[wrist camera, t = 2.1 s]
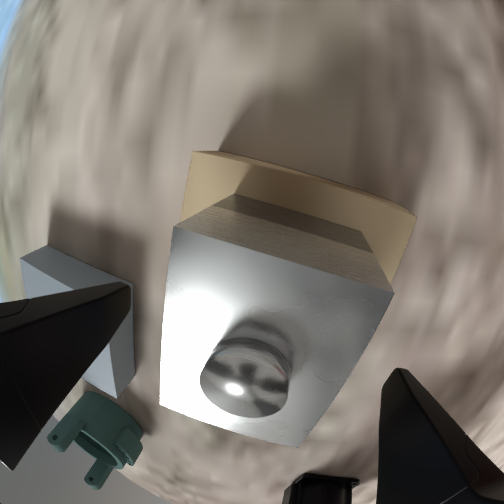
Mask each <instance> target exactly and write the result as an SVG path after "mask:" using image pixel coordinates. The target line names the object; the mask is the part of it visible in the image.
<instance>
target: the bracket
mask: <svg viewBox="0 0 504 504" xmlns="http://www.w3.org/2000/svg"><path fill="white" fill-rule="evenodd" d="M141 438H142V430H141V428H140V427H139V425H138V424H137V422H136V421H135V420H134V419H133V418H132V417H131V416H130V415H129V414H128V413H127V412H126V411H125V410H123V409H122V408H121V407H120V406H118V405H117V404H116V403H114V402H113V401H111V400H109V399H108V398H106V397H104V396H101V395H99V394H97V393H95V392H85V393H84V394H83V396H82V397H81V398H80V399H79V400H78V401H77V402H76V404H75V405H74V406H73V407H72V408H71V409H70V411H69V412H68V413H67V414H66V415H65V416H64V417H63V418H62V420H61V421H60V422H59V423H58V424H57V426H56V427H55V428H54V429H53V430H52V431H51V433H50V434H49V435H48V436H47V439H48V441H49V443H50V444H51V445H52V446H53V447H54V449H55V450H57V451H59V452H64V451H65V450H66V449H67V448H68V447H69V445H70V444H71V443H72V441H73V442H74V443H76V445H78V446H79V447H80V448H81V449H82V450H84V451H85V452H86V453H87V454H89V455H90V456H91V457H93V458H95V459H96V461H95V463H94V464H93V466H92V467H91V469H90V470H89V472H88V473H87V475H86V476H85V478H84V480H85V482H86V483H87V484H88V485H89V486H90V487H92V488H93V489H95V490H99V489H100V488H101V487H102V486H103V484H104V482H105V481H106V479H107V478H108V476H109V474H110V473H111V471H112V470H113V468H115V469H122V468H123V467H124V465H125V464H126V463H128V464H129V465H130V466H133V465H134V463H135V462H136V460H137V458H138V456H139V455H140V453H141V451H142V449H143V447H142V444H141V442H140V439H141Z"/></svg>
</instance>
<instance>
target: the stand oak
mask: <svg viewBox="0 0 504 504" xmlns="http://www.w3.org/2000/svg"><path fill="white" fill-rule="evenodd" d="M232 194H238V195H242V196H245V197H249V198H253V199H256V200H260V201H264V202H267V203H271V204H274V205H278V206H281V207H285V208H288V209H292V210H295V211H298V212H302V213H305V214H308V215H312V216H315V217H318V218H321V219H325V220H328V221H331V222H334V223H337V224H340V225H344V226H347V227H350V228H353V229H356V230H359V231H361V232H362V234H363V235H364V237H365V239H366V240H367V242H368V244H369V246H370V248H371V249H372V251H373V253H374V255H375V257H376V258H377V260H378V262H379V264H380V266H381V268H382V270H383V271H384V273H385V275H386V277H387V279H388V281H389V283H390V284H391V282H392V280H393V277H394V275H395V273H396V270H397V268H398V266H399V263H400V261H401V258H402V256H403V254H404V251H405V249H406V246H407V243H408V241H409V238H410V236H411V233H412V230H413V227H414V225H415V222H416V219H417V217H416V216H415V215H413V214H412V213H410V212H409V211H407V210H406V209H404V208H403V207H401V206H400V205H398V204H397V203H394V202H391V201H389V200H386V199H383V198H381V197H378V196H375V195H372V194H369V193H367V192H364V191H361V190H358V189H355V188H352V187H349V186H346V185H343V184H340V183H337V182H334V181H330V180H327V179H324V178H321V177H317V176H314V175H311V174H307V173H304V172H300V171H297V170H293V169H290V168H286V167H282V166H279V165H275V164H271V163H267V162H263V161H259V160H255V159H251V158H247V157H243V156H238V155H234V154H230V153H225V152H220V151H193V152H192V157H191V162H190V167H189V173H188V178H187V183H186V189H185V195H184V200H183V206H182V213H181V219H180V222H182V221H184V220H186V219H187V218H189V217H191V216H193V215H195V214H196V213H198V212H200V211H202V210H204V209H206V208H208V207H209V206H211V205H213V204H215V203H217V202H219V201H221V200H223V199H224V198H226V197H228V196H230V195H232Z"/></svg>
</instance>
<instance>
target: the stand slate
mask: <svg viewBox="0 0 504 504" xmlns="http://www.w3.org/2000/svg"><path fill="white" fill-rule="evenodd" d="M20 263H21V270H22V276H23V282H24V288H25V293H26V298H27V299H28V298H29V299H31V298H34V297H39V296H44V295H50V294H55V293H60V292H66V291H71V290H76V289H81V288H87V287H92V286H97V285H102V284H108V283H113V282H118V281H121V282H123V283H126V284H128V285H130V287H131V308H130V311H129V313H128V315H127V316H126V318H125V319H124V321H123V322H122V324H121V325H120V327H119V328H118V330H117V331H116V333H115V334H114V336H113V337H112V339H111V340H110V342H109V343H108V345H107V346H106V347H105V348H104V350H103V351H102V352H101V353H100V354H99V356H98V357H97V358H96V359H95V361H94V362H93V363H92V364H91V366H90V367H89V368H88V369H87V371H86V372H85V373H84V374H83V376H82V377H81V378H82V379H84V380H86V381H87V382H89V383H90V384H92V385H94V386H95V387H97V388H99V389H101V390H102V391H104V392H106V393H107V394H109V395H111V396H113V397H115V398H118V397H119V396H120V394H121V393H122V392H123V391H124V389H125V388H126V387H127V385H128V384H129V383H130V381H131V380H132V379H133V378H134V376H135V365H134V342H133V285H134V284H132V283H130V282H127V281H125V280H123V279H120V278H118V277H115V276H113V275H111V274H108V273H106V272H104V271H102V270H99V269H97V268H95V267H93V266H90V265H88V264H86V263H84V262H82V261H79V260H77V259H75V258H73V257H71V256H69V255H67V254H64V253H62V252H60V251H58V250H56V249H54V248H52V247H50V246H48V245H46V246H44V247H42V248H40V249H38V250H35V251H33V252H31V253H29V254H27V255H25V256H23V257H21V258H20Z"/></svg>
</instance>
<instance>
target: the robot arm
mask: <svg viewBox="0 0 504 504" xmlns="http://www.w3.org/2000/svg"><path fill="white" fill-rule="evenodd" d="M130 308H131V287H130V285H128V284H126V283H123V282H121V281H118V282H113V283H108V284H102V285H97V286H92V287H87V288H81V289H76V290H71V291H66V292H60V293H55V294H50V295H44V296H39V297H34V298H31V299H29V298H28V299H23V300H17V301H11V302H4V303H0V461H1V462H2V463H3V464H4V465H5V466H6V467H8V468H9V469H10V470H11V471H13V470H14V469H15V467H16V466H17V465H18V463H19V461H20V460H21V458H22V457H23V456H24V454H25V453H26V451H27V450H28V448H29V447H30V445H31V444H32V443H33V441H34V440H35V438H36V437H37V436H38V434H39V432H40V431H41V429H42V428H43V427H44V426H45V424H46V423H47V421H48V420H49V419H50V417H51V416H52V415H53V413H54V412H55V411H56V409H57V408H58V407H59V405H60V404H61V403H62V401H63V400H64V399H65V397H66V396H67V395H68V394H69V392H70V391H71V390H72V388H73V387H74V386H75V385H76V383H77V382H78V381H79V379H80V378H81V377H82V376H83V374H84V373H85V372H86V371H87V369H88V368H89V367H90V366H91V364H92V363H93V362H94V361H95V359H96V358H97V357H98V356H99V354H100V353H101V352H102V351H103V350H104V348H105V347H106V346H107V345H108V343H109V342H110V340H111V339H112V337H113V336H114V334H115V333H116V331H117V330H118V328H119V327H120V325H121V324H122V322H123V321H124V319H125V318H126V316H127V315H128V313H129V311H130ZM359 484H360V480H358V479H346V478H335V477H326V476H318V475H311V474H304V475H302V476H301V477H300V478H299V479H298V480H297V481H296V482H294V483H293V484H291V485H290V486H289V487H288V488H287V489H286V490H285V491H284V497H283V502H282V504H352V489H353V488H354V487H356V486H357V485H359ZM0 504H1V503H0ZM376 504H504V473H503V472H502V471H501V470H500V469H499V468H498V467H497V466H496V465H495V464H494V463H493V462H492V461H491V460H490V459H489V458H488V457H487V456H486V455H485V454H484V453H483V452H482V451H481V450H480V449H479V448H478V447H477V446H476V444H475V443H474V442H473V441H472V440H471V439H470V438H469V436H468V435H466V433H465V432H464V431H463V430H462V429H461V428H460V426H459V425H458V424H457V423H456V422H455V421H454V420H453V419H452V417H451V416H450V415H449V414H448V413H447V412H446V411H445V410H444V409H443V407H442V406H441V405H440V404H439V403H438V402H437V401H436V400H435V399H434V398H433V397H432V395H431V394H430V393H429V392H428V391H427V390H426V389H425V388H424V387H423V386H422V385H421V384H420V382H419V381H418V380H417V379H416V378H415V377H414V376H413V375H412V374H411V373H410V372H409V371H408V370H407V369H403V368H396V369H394V370H393V372H392V373H391V375H390V376H389V378H388V379H387V380H386V382H385V383H384V385H383V387H382V393H381V408H380V420H379V462H378V485H377V499H376Z"/></svg>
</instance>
